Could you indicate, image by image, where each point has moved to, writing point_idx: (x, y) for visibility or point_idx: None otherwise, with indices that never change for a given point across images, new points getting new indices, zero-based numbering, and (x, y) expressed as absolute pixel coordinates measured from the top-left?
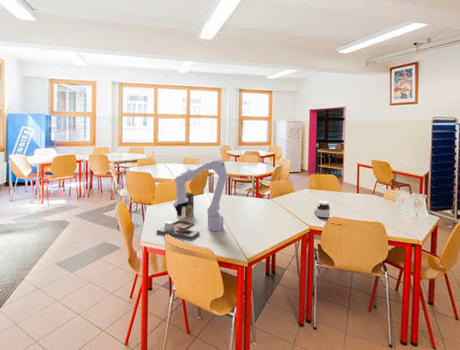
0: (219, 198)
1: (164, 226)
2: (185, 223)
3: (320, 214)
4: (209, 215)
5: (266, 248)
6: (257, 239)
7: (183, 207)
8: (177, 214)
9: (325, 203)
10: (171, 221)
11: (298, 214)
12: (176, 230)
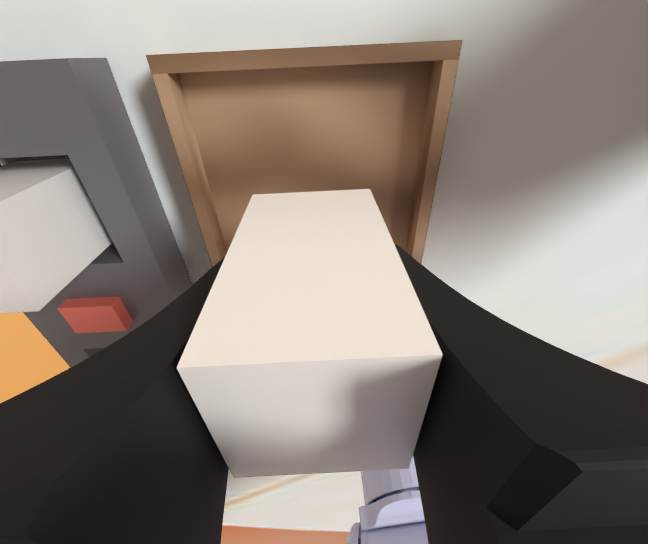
0: None
1: (28, 64)
2: (415, 178)
3: None
4: (361, 520)
5: (278, 528)
6: (337, 508)
7: (315, 469)
8: (221, 259)
9: None
10: (4, 274)
11: None
12: (66, 319)
